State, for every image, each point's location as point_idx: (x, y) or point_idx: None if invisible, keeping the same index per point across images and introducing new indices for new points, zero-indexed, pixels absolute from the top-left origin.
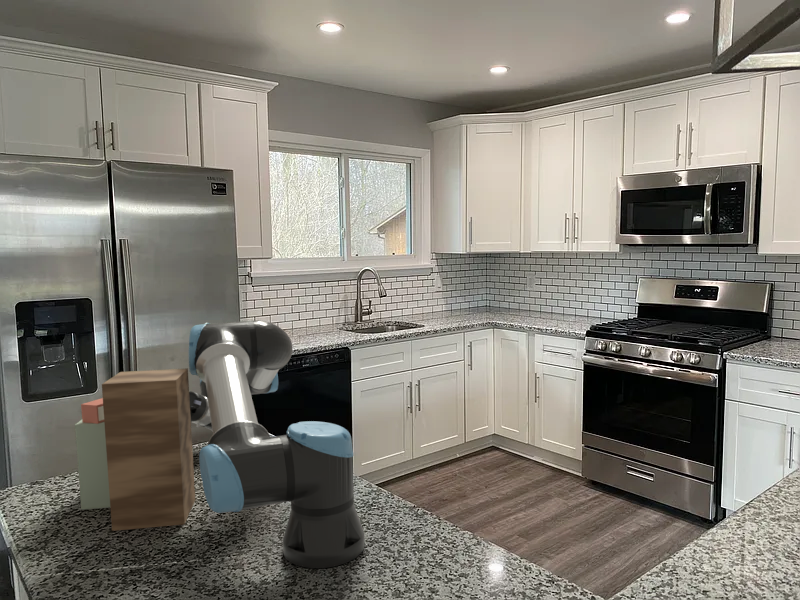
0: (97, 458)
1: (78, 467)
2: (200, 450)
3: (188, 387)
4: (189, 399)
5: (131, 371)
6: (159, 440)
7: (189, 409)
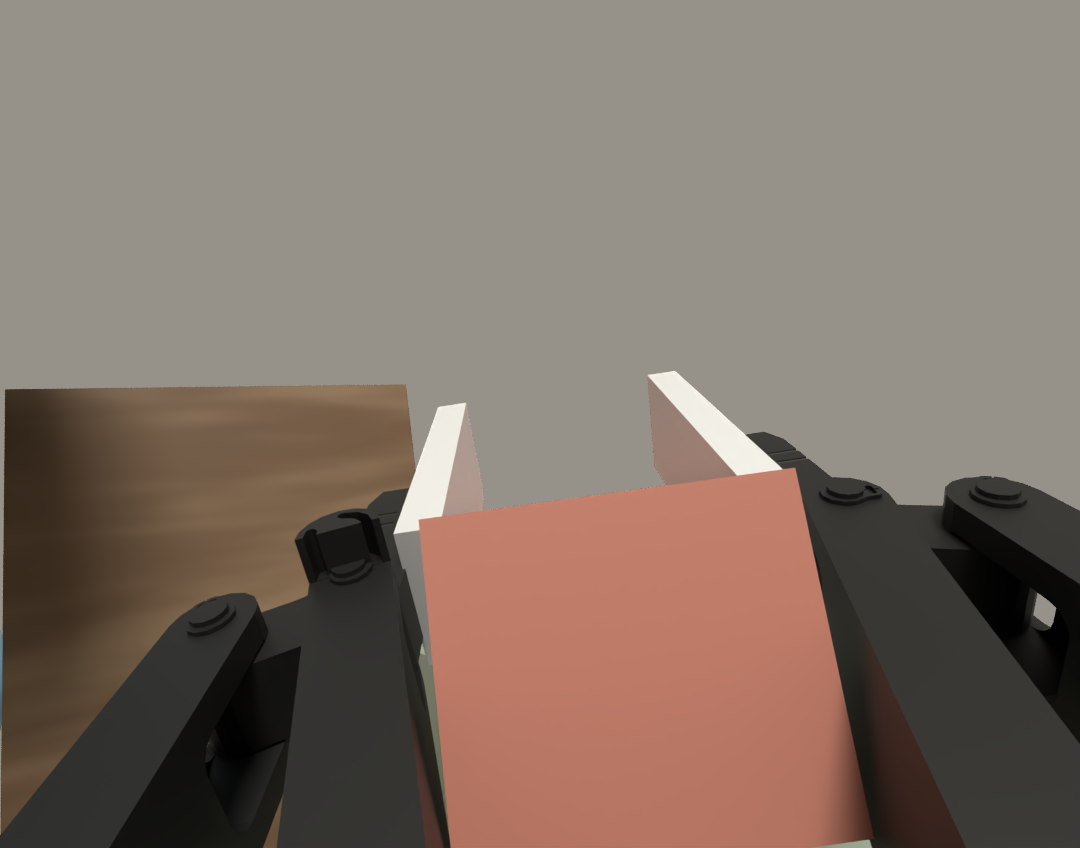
0: None
1: None
2: (1, 636)
3: (8, 512)
4: (4, 596)
5: (354, 386)
6: None
7: (9, 661)
